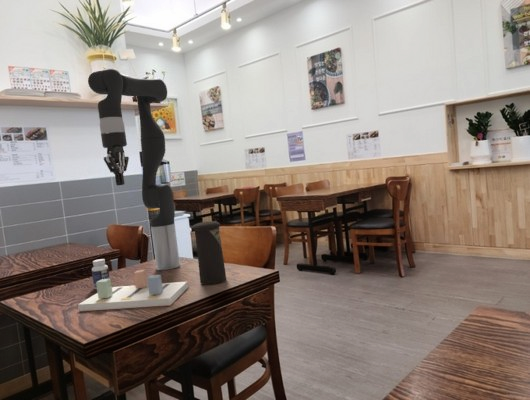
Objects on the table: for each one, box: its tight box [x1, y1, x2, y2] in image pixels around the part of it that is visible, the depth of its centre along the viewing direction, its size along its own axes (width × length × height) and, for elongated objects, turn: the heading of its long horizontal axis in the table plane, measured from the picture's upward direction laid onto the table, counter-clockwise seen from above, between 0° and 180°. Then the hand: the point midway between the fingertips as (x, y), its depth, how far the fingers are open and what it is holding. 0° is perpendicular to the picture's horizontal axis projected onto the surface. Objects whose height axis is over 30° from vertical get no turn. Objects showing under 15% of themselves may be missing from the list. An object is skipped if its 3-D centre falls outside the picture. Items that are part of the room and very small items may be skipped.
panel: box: [77, 281, 189, 312], centre depth 124 cm, size 16×28×2 cm, turn 83°
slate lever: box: [147, 274, 163, 295], centre depth 120 cm, size 3×3×5 cm
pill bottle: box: [91, 258, 111, 290], centre depth 143 cm, size 5×5×10 cm
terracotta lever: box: [133, 269, 149, 288], centre depth 129 cm, size 3×3×5 cm
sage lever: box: [96, 278, 113, 299], centre depth 122 cm, size 3×3×5 cm
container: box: [192, 220, 227, 286], centre depth 134 cm, size 9×9×20 cm
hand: (120, 185), depth 134 cm, fingers closed
